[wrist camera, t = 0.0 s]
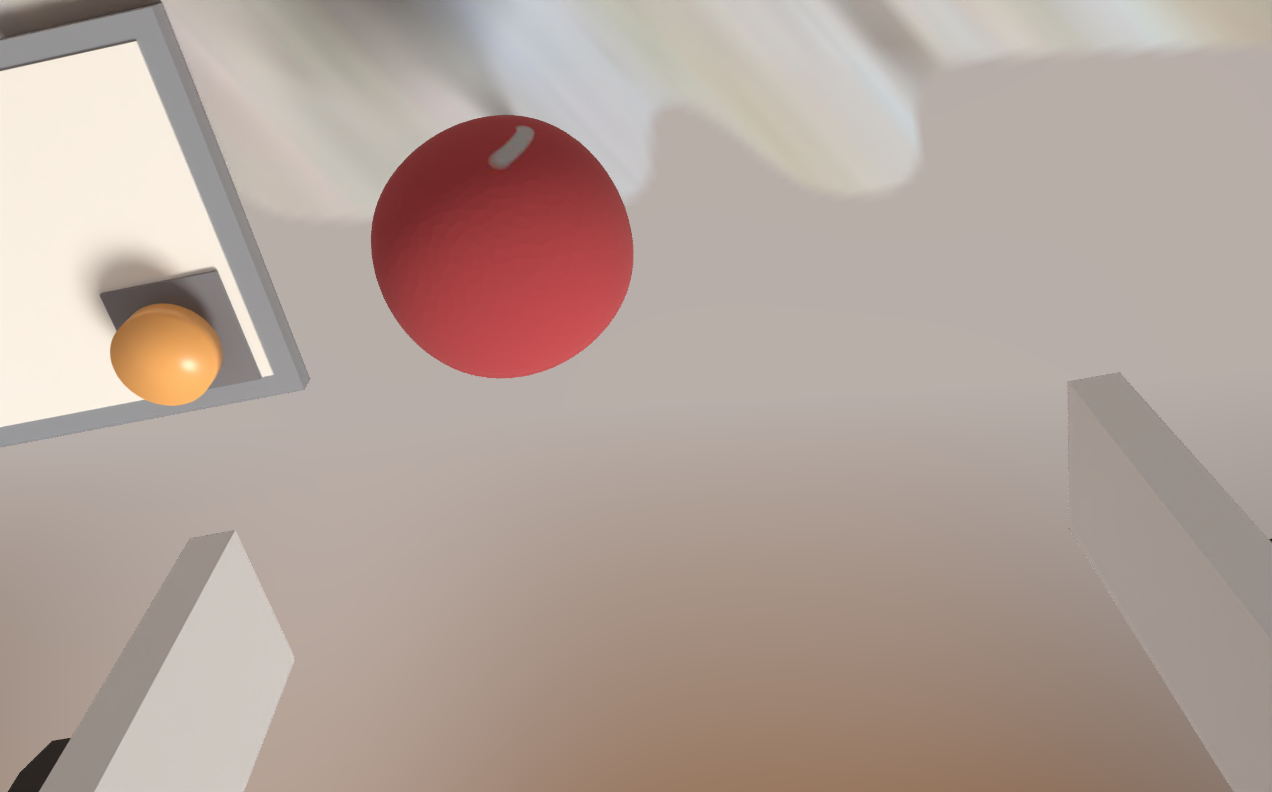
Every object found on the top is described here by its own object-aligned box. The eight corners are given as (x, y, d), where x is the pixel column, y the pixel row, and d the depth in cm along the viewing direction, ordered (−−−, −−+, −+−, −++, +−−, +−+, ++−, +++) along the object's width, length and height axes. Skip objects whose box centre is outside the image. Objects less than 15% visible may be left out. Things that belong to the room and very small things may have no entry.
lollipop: (662, 185, 43) (681, 348, 30) (500, 270, 45) (449, 461, 32) (566, 9, 40) (539, 106, 27) (395, 108, 41) (290, 245, 28)
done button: (105, 313, 43) (92, 326, 42) (200, 295, 43) (189, 307, 42) (147, 399, 45) (135, 413, 44) (237, 382, 44) (228, 396, 43)
